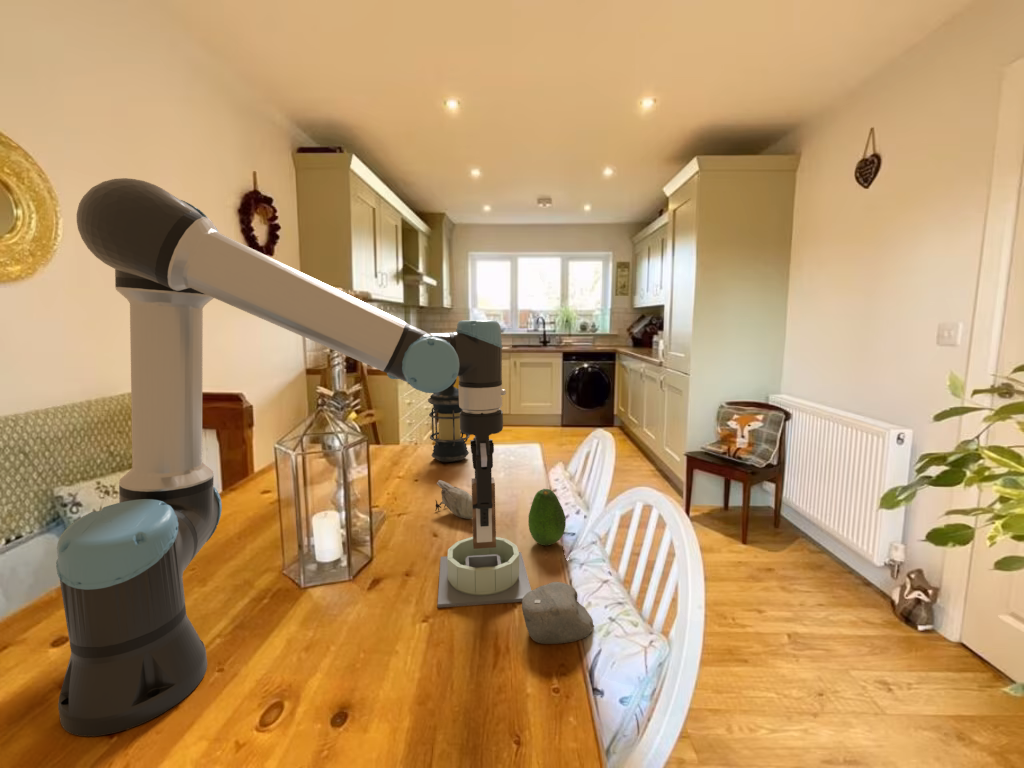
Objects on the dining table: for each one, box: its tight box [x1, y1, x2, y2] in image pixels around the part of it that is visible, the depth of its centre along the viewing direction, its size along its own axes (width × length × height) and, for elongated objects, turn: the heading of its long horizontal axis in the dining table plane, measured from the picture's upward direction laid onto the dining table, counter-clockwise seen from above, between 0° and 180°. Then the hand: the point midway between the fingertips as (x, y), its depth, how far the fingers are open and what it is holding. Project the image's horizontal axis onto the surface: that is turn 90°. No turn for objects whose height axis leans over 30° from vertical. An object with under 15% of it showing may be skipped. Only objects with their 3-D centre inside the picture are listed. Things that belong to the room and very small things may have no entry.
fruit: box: [528, 488, 567, 546], centre depth 101 cm, size 8×8×12 cm
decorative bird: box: [434, 479, 473, 520], centre depth 116 cm, size 5×16×8 cm, turn 48°
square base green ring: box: [437, 536, 532, 608], centre depth 88 cm, size 16×16×5 cm
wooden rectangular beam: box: [470, 476, 497, 549], centre depth 87 cm, size 3×4×12 cm
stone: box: [521, 581, 595, 645], centre depth 74 cm, size 9×9×10 cm
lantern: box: [427, 379, 471, 463], centre depth 159 cm, size 14×13×35 cm
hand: (483, 536), depth 88 cm, fingers closed on wooden rectangular beam, 3 cm apart
